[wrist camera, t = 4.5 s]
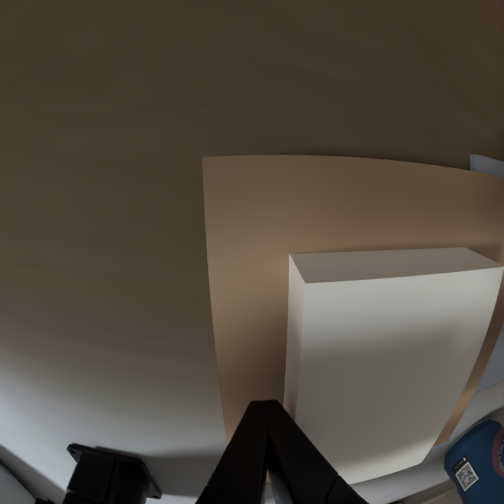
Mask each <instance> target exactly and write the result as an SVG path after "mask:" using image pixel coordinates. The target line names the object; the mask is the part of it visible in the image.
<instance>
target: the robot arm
mask: <svg viewBox="0 0 504 504" xmlns="http://www.w3.org/2000/svg"><path fill="white" fill-rule="evenodd" d="M67 450H68V452H69V453H70V454H71V456H72V457H73V458H74V460H75V461H76V462H77V464H76V467H75V469H74V471H73V474H72V476H71V479H70V481H69V484H68V486H67V489H66V490H67V493H66V495H65V498H64V500H63V503H62V504H146V499H147V497H148V498H154V499H161V496H162V494H161V492H160V491H159V489H158V487H157V486H156V484H155V482H154V481H153V479H152V477H151V476H150V474H149V472H148V470H147V469H146V467H145V465H144V463H143V462H142V461H140V460H138V459H135V458H129V457H123V456H118V455H113V454H108V453H103V452H99V451H95V450H91V449H87V448H83V447H79V446H75V445H72V444H69V445H68V447H67ZM267 470H268V474H269V478H270V482H271V487H272V491H273V495H274V499H275V503H276V504H369V503H368V502H367V501H365V500H364V499H363V498H362V497H361V496H360V495H358V494H357V493H356V492H355V491H354V490H353V489H352V488H351V486H350V485H349V484H348V483H347V482H346V481H345V480H344V479H343V478H342V477H341V476H340V475H338V472H337V471H336V470H335V469H334V468H333V467H332V466H331V464H330V463H329V462H328V461H327V460H326V459H325V457H324V456H323V455H322V454H321V453H320V451H319V450H318V449H317V448H316V447H315V446H314V444H313V443H312V442H311V441H310V439H309V438H308V437H307V436H306V435H305V433H304V432H303V431H302V430H301V428H300V427H299V426H298V425H297V424H296V422H295V421H294V420H293V419H292V417H291V416H290V415H289V413H288V412H287V411H286V410H285V408H284V407H283V406H282V405H281V403H280V402H279V401H278V400H277V399H271V400H264V401H263V400H253V401H250V402H249V404H248V406H247V408H246V410H245V412H244V414H243V416H242V418H241V420H240V422H239V424H238V426H237V428H236V430H235V432H234V434H233V436H232V438H231V440H230V442H229V444H228V446H227V448H226V450H225V452H224V453H223V455H222V457H221V459H220V461H219V463H218V465H217V467H216V468H215V470H214V472H213V474H212V476H211V477H210V479H209V481H208V483H207V485H208V486H205V488H204V490H203V491H202V493H201V495H200V497H199V498H198V500H197V501H196V503H195V504H265V495H266V483H267ZM35 504H55V503H54V502H52V501H51V500H49V499H48V500H47V501H45V500H42V499H40V498H38V497H37V499H36V501H35Z"/></svg>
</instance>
